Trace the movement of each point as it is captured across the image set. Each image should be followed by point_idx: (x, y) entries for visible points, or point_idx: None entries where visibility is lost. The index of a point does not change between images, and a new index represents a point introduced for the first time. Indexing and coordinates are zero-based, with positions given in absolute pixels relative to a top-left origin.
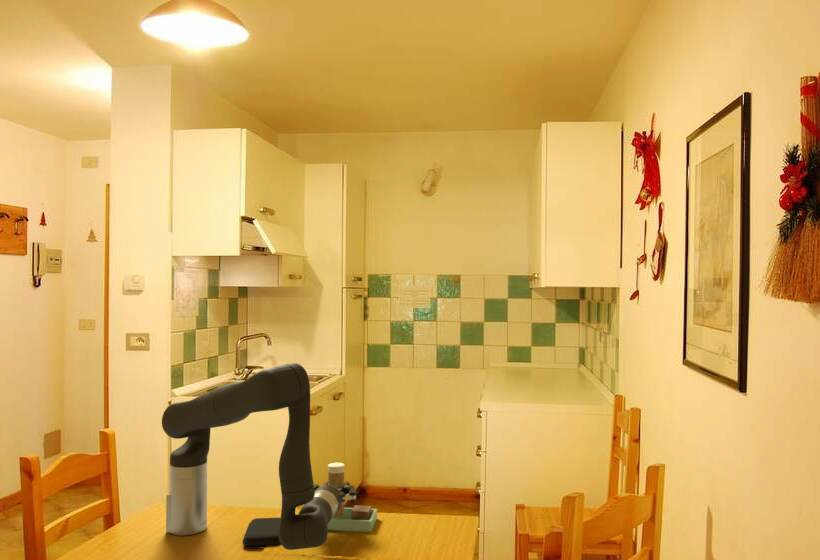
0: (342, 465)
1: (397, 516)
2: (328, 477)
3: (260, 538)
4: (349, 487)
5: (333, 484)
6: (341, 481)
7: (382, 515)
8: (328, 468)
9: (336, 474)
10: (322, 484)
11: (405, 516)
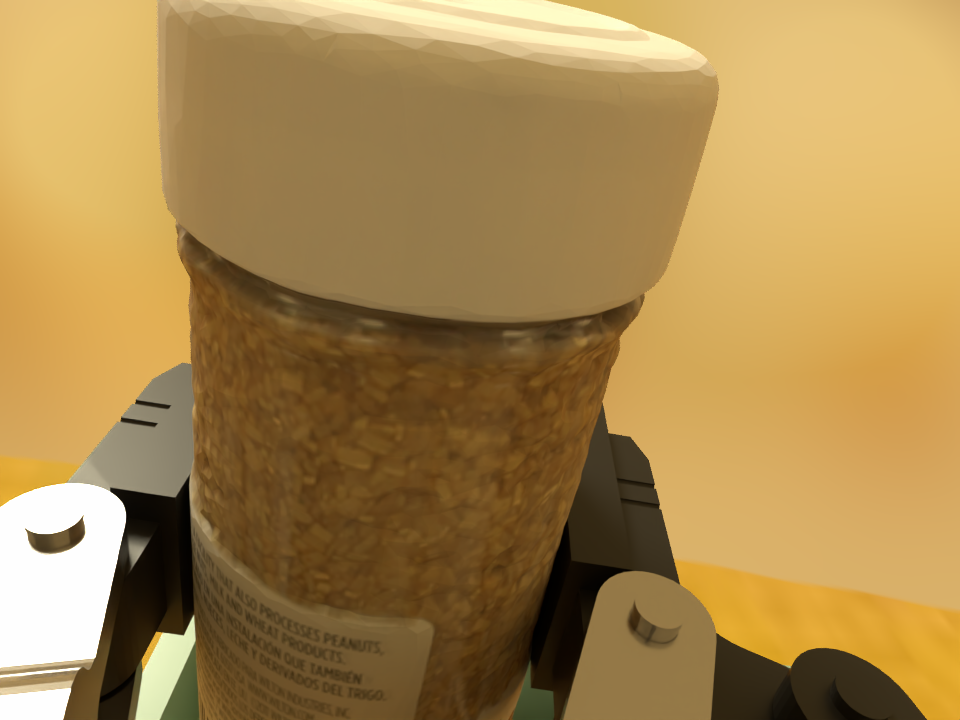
0: (685, 54)
1: (885, 645)
2: (192, 355)
3: None
4: (735, 656)
5: (331, 585)
6: (554, 502)
7: (750, 617)
8: (170, 81)
9: (464, 345)
10: (29, 501)
11: (948, 648)
